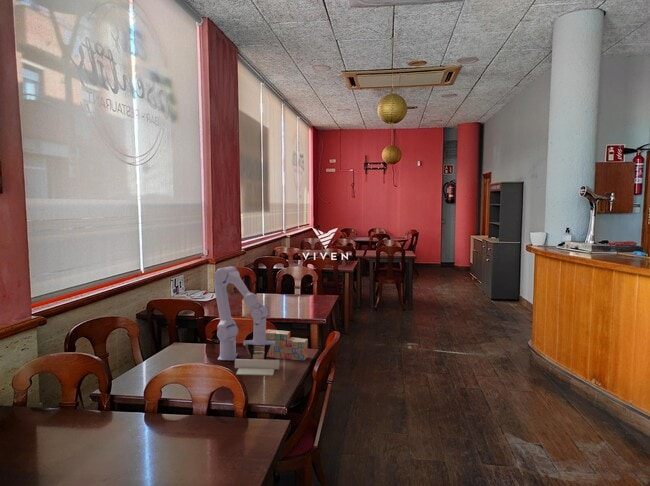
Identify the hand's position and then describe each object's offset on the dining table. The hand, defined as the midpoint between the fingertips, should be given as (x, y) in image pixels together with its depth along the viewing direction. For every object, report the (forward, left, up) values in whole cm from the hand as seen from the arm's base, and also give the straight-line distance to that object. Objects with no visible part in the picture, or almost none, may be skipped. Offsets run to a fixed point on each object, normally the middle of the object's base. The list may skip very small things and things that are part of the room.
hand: (258, 360), depth 207 cm
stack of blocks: (-11, +11, -2) cm, 16 cm away
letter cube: (0, 0, -1) cm, 1 cm away
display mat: (+11, 0, -1) cm, 12 cm away
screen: (+6, 0, -1) cm, 7 cm away
